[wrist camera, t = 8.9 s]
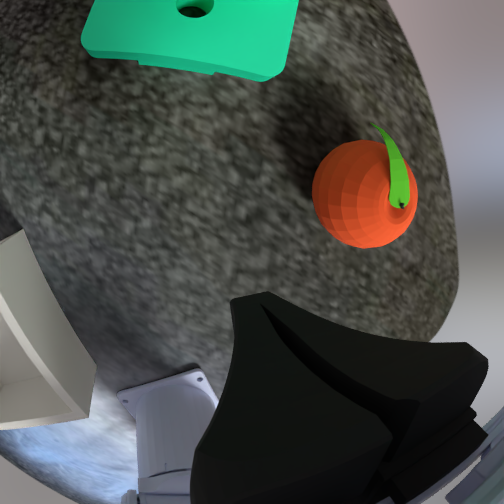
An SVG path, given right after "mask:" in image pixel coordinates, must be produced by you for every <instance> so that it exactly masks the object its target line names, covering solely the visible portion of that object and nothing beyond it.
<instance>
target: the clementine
mask: <svg viewBox="0 0 504 504" xmlns="http://www.w3.org/2000/svg"><path fill="white" fill-rule="evenodd" d="M371 124H372V123H371ZM372 125H373V126H374V127H376V128H377V129H378V130H379V131H380V133H381V135H382V137H383V139H384V141H385V144H386V145H384V144H382V143H379V142H375V141H369V140H357V141H352V142H348V143H343V144H341V145H340V146H338V147H336V148H335V149H333V150H332V151H331V152H330V153H329V154H328V155H327V156H326V157H325V158H324V159H323V160H322V161H321V163H320V165H319V167H318V168H317V170H316V172H315V176H314V180H313V183H312V198H313V203H314V208H315V211H316V213H317V216H318V218H319V220H320V222H321V224H322V225H323V226H324V227H325V228H326V229H327V231H328V232H329V233H330V234H332V235H333V236H334V237H335V238H336V239H338V240H340V241H341V242H343V243H345V244H348V245H351V246H355V247H359V248H371V247H379V246H383V245H386V244H388V243H390V242H392V241H393V240H395V239H396V238H397V237H399V236H400V235H401V234H402V233H404V231H405V230H406V229H407V228H408V226H409V225H410V223H411V221H412V219H413V217H414V214H415V211H416V207H417V199H418V193H417V185H416V181H415V178H414V175H413V173H412V171H411V169H410V167H409V166H408V164H407V162H406V161H405V160H404V159H403V158H402V156H401V154H400V152H399V150H398V148H397V146H396V145H395V143H394V141H393V140H392V139H391V138H390V136H389V135H388V134H387V133H386V132H385V131H384V130H383V129H381V128H379V127H378V126H376V125H374V124H372Z"/></svg>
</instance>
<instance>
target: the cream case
mask: <svg viewBox="0 0 504 504" xmlns="http://www.w3.org/2000/svg"><path fill="white" fill-rule="evenodd" d="M96 370H97V365H96V364H95V362H94V361H93V359H92V358H91V356H90V355H89V353H88V352H87V350H86V349H85V347H84V346H83V344H82V343H81V341H80V339H79V338H78V336H77V335H76V333H75V331H74V330H73V328H72V326H71V325H70V323H69V321H68V320H67V318H66V316H65V314H64V313H63V311H62V309H61V307H60V306H59V304H58V302H57V300H56V298H55V296H54V294H53V293H52V291H51V289H50V287H49V285H48V283H47V281H46V279H45V277H44V275H43V273H42V271H41V268H40V266H39V264H38V262H37V260H36V258H35V255H34V253H33V251H32V249H31V246H30V244H29V241H28V239H27V237H26V234H25V232H24V229H22V230H20V231H18V232H16V233H14V234H13V235H11V236H9V237H7V238H5V239H3V240H2V241H0V430H7V429H17V428H26V427H35V426H42V425H49V424H56V423H62V422H68V421H73V420H79V419H84V418H89V412H90V405H91V398H92V392H93V386H94V381H95V375H96Z"/></svg>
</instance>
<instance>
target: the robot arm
mask: <svg viewBox="0 0 504 504" xmlns="http://www.w3.org/2000/svg"><path fill="white" fill-rule="evenodd" d="M230 307H231V315H232V322H233V329H234V337H235V338H234V347H233V354H232V360H231V365H230V369H229V373H228V376H227V380H226V383H225V387H224V390H223V393H222V395H221V398H220V400H218V398H217V396H216V394H215V393H214V391H213V389H212V387H211V385H210V383H209V381H208V380H207V378H206V376H205V374H204V372H203V370H202V369H199V368H197V369H193V370H190V371H187V372H184V373H181V374H178V375H174V376H171V377H168V378H165V379H161V380H158V381H155V382H151V383H148V384H144V385H141V386H137V387H134V388H130V389H126V390H123V391H119V392H118V393H117V398H118V400H119V401H120V402H121V403H122V405H123V406H124V407H125V408H126V409H127V411H128V412H129V413H130V414H131V415H132V417H133V418H134V419H135V420H136V437H137V459H138V474H139V478H138V490H139V494H136V490H128V491H127V493H125V494H124V495H123V496H122V498H121V504H421V503H422V502H424V501H425V500H427V499H428V498H430V497H431V496H433V495H434V494H435V493H437V492H438V491H439V490H440V489H442V488H443V487H445V486H446V485H447V484H448V483H450V482H451V481H452V480H453V479H454V478H456V477H457V476H458V475H459V474H461V473H462V472H463V471H464V470H465V469H466V468H468V467H469V466H470V465H471V464H472V463H473V462H474V461H475V460H476V459H477V458H478V457H480V456H481V461H480V462H479V463H478V464H477V465H476V466H475V467H474V468H473V469H472V470H471V472H470V473H469V474H468V475H467V476H466V477H465V478H464V479H463V480H462V481H461V482H460V483H459V484H458V485H457V486H456V487H455V488H454V489H453V490H451V491H450V492H449V493H448V494H447V495H446V497H445V499H446V500H447V501H448V502H449V504H504V407H503V408H502V409H501V410H500V411H499V412H498V413H497V414H496V415H495V416H494V417H493V418H492V419H491V420H490V421H489V422H488V423H487V424H486V425H485V426H483V428H481V427H480V426H479V425H478V424H477V423H476V422H475V421H474V420H473V419H474V418H475V417H476V416H477V414H476V412H475V411H474V410H473V409H472V408H471V407H470V406H471V404H472V402H473V401H474V399H475V397H476V395H477V393H478V391H479V390H480V388H481V386H482V384H483V382H484V379H485V377H486V375H487V371H488V359H487V358H486V357H485V356H483V355H482V354H481V353H480V352H478V351H477V350H476V349H475V348H473V347H472V346H471V345H469V344H468V343H467V342H451V343H449V342H447V343H431V342H417V341H407V340H399V339H393V338H387V337H382V336H377V335H373V334H368V333H364V332H361V331H358V330H354V329H351V328H348V327H344V326H342V325H339V324H336V323H334V322H331V321H329V320H326V319H324V318H321V317H319V316H317V315H314V314H312V313H310V312H308V311H306V310H304V309H302V308H300V307H298V306H296V305H294V304H292V303H290V302H288V301H286V300H284V299H282V298H280V297H279V296H277V295H275V294H273V293H271V292H268V291H267V292H262V293H258V294H253V295H248V296H243V297H238V298H234V299H232V300H231V302H230ZM199 377H202V378H200V379H198V378H199ZM124 399H126V400H124Z"/></svg>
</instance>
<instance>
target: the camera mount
mask: <svg viewBox="0 0 504 504" xmlns="http://www.w3.org/2000/svg"><path fill="white" fill-rule="evenodd" d="M298 1H299V0H95V1H94V4H93V6H92V8H91V11H90V13H89V16H88V18H87V21H86V24H85V26H84V29H83V32H82V35H81V43H82V45H83V47H84V48H85V49H86V51H87V52H88V53H89V54H90V55H91V56H92V57H95V58H111V59H127V60H138V62H139V64H140V65H150V66H159V67H167V68H174V69H181V70H187V71H193V72H199V73H204V74H210V75H213V74H214V72H219V73H224V74H229V75H233V76H238V77H242V78H246V79H250V80H254V81H258V82H263V81H267V80H269V79H271V78H272V77H274V76H276V75H278V74H279V73H281V72H282V70H283V69H284V67H285V62H286V58H287V53H288V48H289V43H290V39H291V34H292V29H293V25H294V20H295V15H296V11H297V6H298ZM188 6H195V7H199V8H201V9H202V10H204V11H205V12H206V14H207V15H205V16H203V17H199V18H189V17H186V16H184V15H182V14H181V13H179V10H180V9H182V8H184V7H188Z"/></svg>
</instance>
